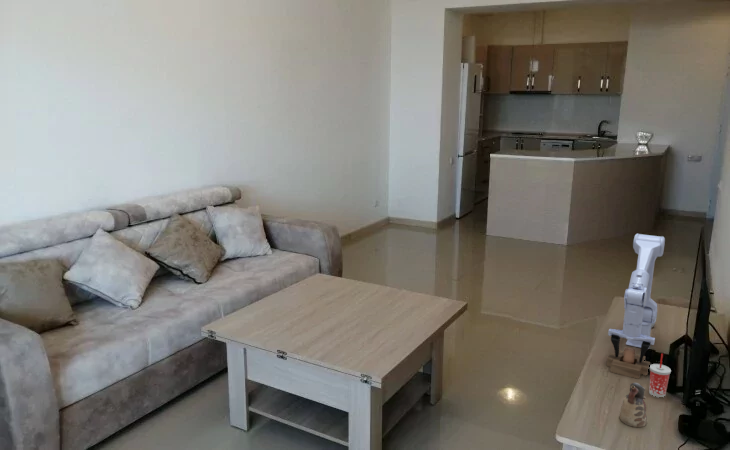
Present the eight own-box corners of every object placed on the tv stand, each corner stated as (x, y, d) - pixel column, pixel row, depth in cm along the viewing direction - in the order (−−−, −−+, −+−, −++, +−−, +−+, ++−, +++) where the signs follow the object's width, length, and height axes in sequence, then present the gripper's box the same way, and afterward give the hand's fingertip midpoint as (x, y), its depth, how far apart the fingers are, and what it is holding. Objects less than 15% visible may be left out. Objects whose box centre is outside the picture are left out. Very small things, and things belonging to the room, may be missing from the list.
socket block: (611, 356, 207) (612, 348, 206) (650, 365, 200) (651, 357, 199) (604, 370, 196) (605, 362, 196) (645, 380, 189) (646, 372, 189)
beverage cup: (667, 400, 177) (672, 359, 174) (645, 395, 180) (650, 355, 177) (668, 392, 182) (673, 352, 179) (647, 387, 185) (652, 347, 182)
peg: (623, 364, 201) (625, 346, 199) (634, 367, 199) (636, 349, 197) (621, 368, 198) (623, 350, 196) (632, 371, 196) (634, 352, 194)
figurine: (651, 422, 165) (655, 385, 162) (636, 430, 161) (641, 392, 159) (628, 411, 171) (632, 375, 168) (614, 418, 167) (618, 381, 164)
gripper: (608, 321, 195) (604, 357, 198) (654, 330, 187) (649, 368, 190) (612, 315, 201) (608, 350, 204) (657, 323, 193) (652, 360, 196)
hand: (628, 358), depth 197 cm, fingers open, 7 cm apart
